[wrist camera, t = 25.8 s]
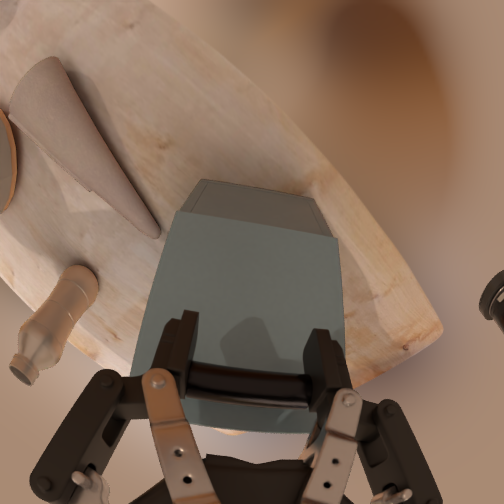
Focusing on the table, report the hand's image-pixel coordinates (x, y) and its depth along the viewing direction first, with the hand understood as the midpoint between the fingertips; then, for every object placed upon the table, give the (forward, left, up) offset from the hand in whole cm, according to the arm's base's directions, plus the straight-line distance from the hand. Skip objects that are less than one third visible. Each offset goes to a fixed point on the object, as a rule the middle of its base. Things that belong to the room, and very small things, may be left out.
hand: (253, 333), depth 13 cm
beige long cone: (+16, -11, -21) cm, 29 cm away
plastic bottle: (+28, +6, -21) cm, 36 cm away
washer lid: (+1, +2, -4) cm, 5 cm away
